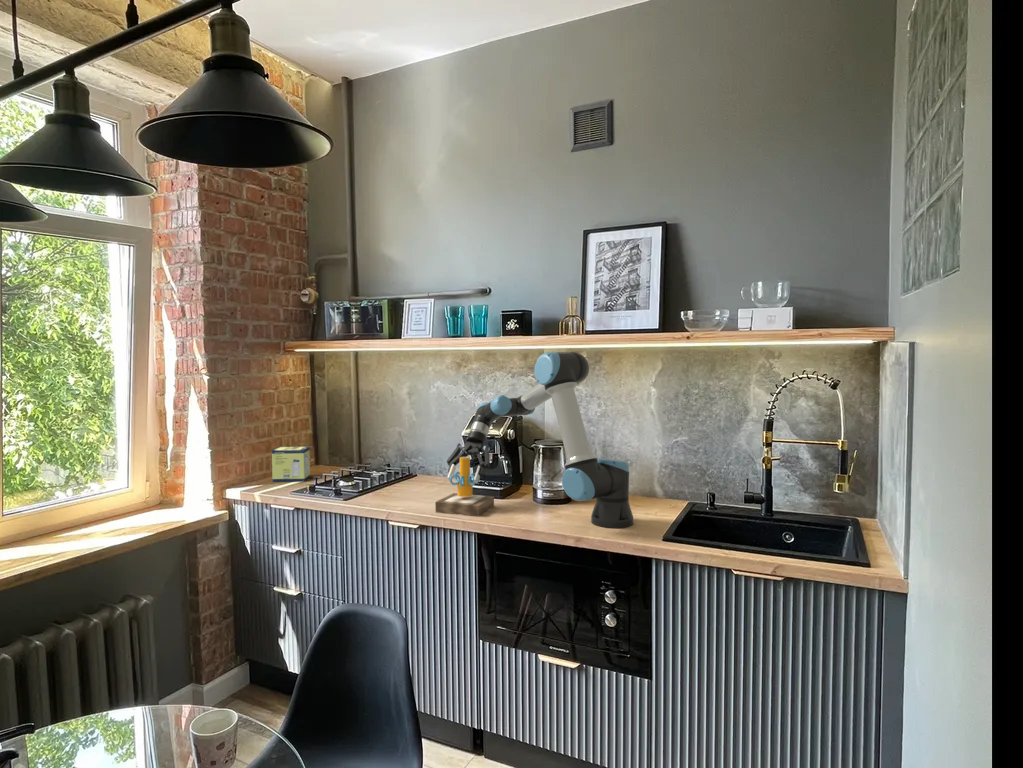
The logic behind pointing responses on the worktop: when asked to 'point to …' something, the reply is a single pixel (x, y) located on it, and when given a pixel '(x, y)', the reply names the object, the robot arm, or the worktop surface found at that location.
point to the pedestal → (465, 504)
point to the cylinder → (464, 478)
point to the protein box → (290, 464)
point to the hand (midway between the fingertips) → (462, 480)
